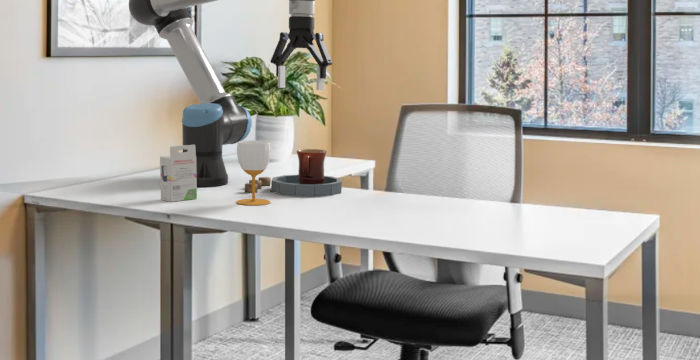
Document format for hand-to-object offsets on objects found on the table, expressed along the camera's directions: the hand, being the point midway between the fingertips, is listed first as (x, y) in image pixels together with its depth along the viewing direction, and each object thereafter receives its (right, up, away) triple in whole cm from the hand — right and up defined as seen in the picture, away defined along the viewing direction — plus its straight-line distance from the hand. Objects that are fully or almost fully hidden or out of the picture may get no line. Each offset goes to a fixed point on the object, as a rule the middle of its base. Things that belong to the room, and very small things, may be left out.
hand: (300, 88), depth 262 cm
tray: (+2, -30, -7) cm, 31 cm away
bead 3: (-11, -29, +1) cm, 31 cm away
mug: (+3, -29, -7) cm, 30 cm away
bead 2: (-13, -30, -5) cm, 33 cm away
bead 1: (-13, -31, -11) cm, 35 cm away
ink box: (-31, -32, -26) cm, 52 cm away
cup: (-11, -33, -28) cm, 45 cm away
